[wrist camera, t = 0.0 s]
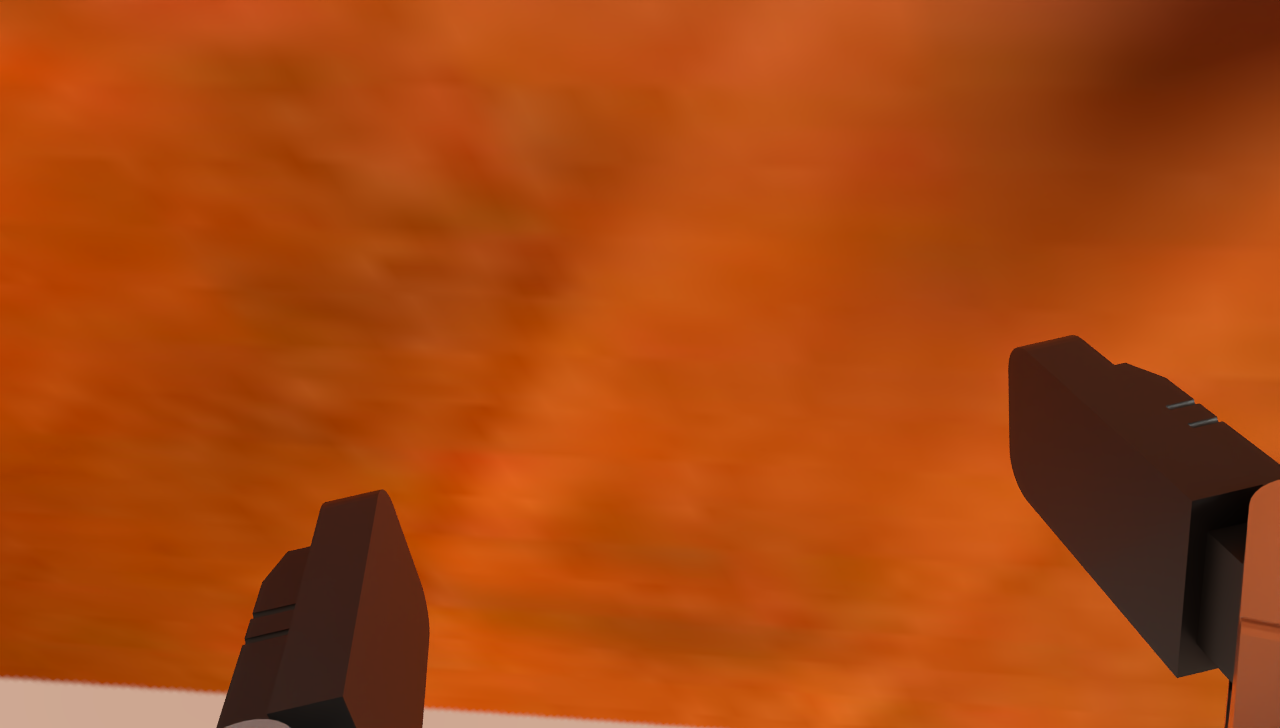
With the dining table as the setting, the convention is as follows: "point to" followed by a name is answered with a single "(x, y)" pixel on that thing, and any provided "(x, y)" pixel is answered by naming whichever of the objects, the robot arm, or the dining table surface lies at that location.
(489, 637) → the dining table surface
